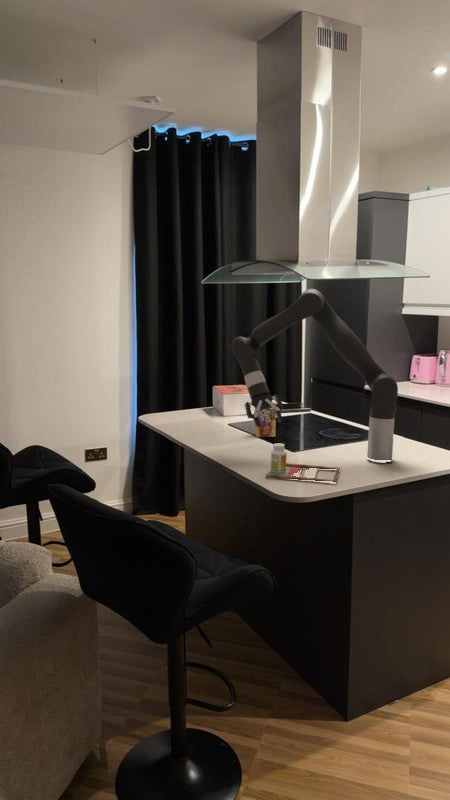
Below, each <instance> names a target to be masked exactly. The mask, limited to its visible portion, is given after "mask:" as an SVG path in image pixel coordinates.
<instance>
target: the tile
mask: <svg viewBox="0 0 450 800" xmlns="http://www.w3.org/2000/svg"><path fill="white" fill-rule="evenodd" d="M289 470H290V467H287V466H286V471H285V472H282V473H275V472H272V471H271V469H270V470H269V472H268V473H267V474H275V475H287V474H286V473H288V472H289ZM287 471H288V472H287Z"/></svg>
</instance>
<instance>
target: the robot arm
mask: <svg viewBox="0 0 450 800" xmlns="http://www.w3.org/2000/svg"><path fill="white" fill-rule="evenodd" d="M310 317H312V318H313V319H314V320H315V321H316V322H317V324H318V325H319V326H320V327H321V329H322V331H323V332H324V334H325V335H326V337H327V339H328V341H329V343H330V344H331V346H332V347H333V348H334V350H335V351H336V352H337V353H338V355H340V356H341V358H342V359H343V360H344V361H345V362H346V363H347V364H348V365H349V366H350V367H351V368H353V369H354V370H355V371H356V372H357V373H359V375H360V376H361V378H362V380H364V382H365V383H366V385H367V386H368V388H369V390H370V391H371V404H370V409H369V419H368V420H369V422H368V435H367V437H368V438H367V453H366V456H367V457H368V458H370V459H374V460H392V461H393V447H394V430H395V417H396V416H395V414H396V411H397V408H398V407H397V404H398V395H399V394H398V392H399V387H398V383H397V381H396V380H395V379H394V378H393V377H392V376H391V375H390V374H388V373H387V372H385V370H383V369H382V367H380V366H379V364H377V362H376V361H375V360H374V359H373V358H372V355H371V354H370V352H369V351H368V349H367V347H366V346H365V345H364V343H363V342H362V340H361V339H360V338H359V337H358V336H357V335H356V333H354V331H353V330H352V329H351V328H350V327H349V325H347V323H346V322H344V320H343V319H341V318H340V316H339V315H337V314H336V312H335V310H334V309H333V308H332V307H331V305H330V304H329V302H328V301H327V300H326V298H325V296H324V294H323V293H322V292H321V291H319V290H317V289H315V288H308V289H306V290H304V291H303V292H302V293H301V294H300V295H299V298H297V299H296V300H295V301H294V302H293V303H292V304H291V305H290V306H288V307H287V308H286V309H284V310H282V311H281V312H280V313H278V314H276V315H274V316H272V317H270V318H268V319H266V320H265V321H263V322H262V323H260V324H259V325H257V326H256V327H255V328H253V329H252V331H251V334H250V335H249V336H247V337H244V336H236V337H234V339H232V341H231V350H232V353H233V355H234V357H235V359H236V361H237V363H238V365H239V366H240V367H241V372H242V374H243V377H244V382H245V385H246V389H247V392H248V395H249V398H250V400H251V401H249V402H248V401H246V402H245V404H244V409H245V412H246V413H245V414H246V415H247V418H248V419H251V420H252V419H253V421H254V426H255V425H256V427H257V426H258V428H259V427H261V424H260V422H259V419H258V417H257V415H258V412H259V411H262V410H266V409H268V408H270V409H271V410H273V411H275V412H276V418H277V422H278V423H280V422H282V420H283V416H282V413H281V411H282V410H283V409H284V408H285V407H284V403H283V401H282V400H281V397H280V395H279V394H278V393H277V394H275V395H273V396H272V395H271V393H270V391H269V387H268V385H267V382H266V379H265V376H264V374H263V372H262V369H261V365H260V363H259V361H258V360H257V358H255V357H254V355H253V354H255V353H256V352H257V351H258V350H260V348H261V347H262V346H263V345H264V344H266V343H268V342H269V341H270V340H272V339H274V338H275V337H277V336H278V335H280V334H281V333H283V332H284V331H285V330H287V329H288V328H290V327H291V326H293V325H294V324H297V323H299V322H300V321H302V320H305V319H307V318H310ZM272 402H275V403H276V405H275V404H273V403H272ZM252 407H253V408H254V412H253V413H252V409H251V408H252ZM367 457H366V458H367Z"/></svg>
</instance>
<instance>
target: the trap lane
mask: <svg viewBox="0 0 450 800" xmlns="http://www.w3.org/2000/svg"><path fill="white" fill-rule="evenodd" d="M286 466H287V467H298V468H317V469H318V468H319V469H337V470H336V472H335V474H334V477H333V479H328V478H327V479H325V478H317V477H316V478H307V477H302V476H300V477H296V476H286V475H287V474H286V475H275V474H268V473H265V479H271V478H276V479H275V480H281V479H298V480H315V481H333V482H336V480H337V481H338V479H337V477H338V478H339V476H338V474H339V475H340V472H339V470H340V471H341V468H340V467H334V466H333V467H332V466H324V465H323V466H322V465H311V464H300V463H291V462H290V463H289V462H286Z"/></svg>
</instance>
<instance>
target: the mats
mask: <svg viewBox="0 0 450 800" xmlns="http://www.w3.org/2000/svg"><path fill="white" fill-rule="evenodd" d="M307 469H308V470H309V468H306V469H305V470H307ZM300 470H304V469H303V468H298V467H291V468H289V470H288V472H287V474H286V476H291V475H292V476H293V474H294V473H297V472H298V471H299V472H300ZM299 472H298V473H299Z"/></svg>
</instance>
